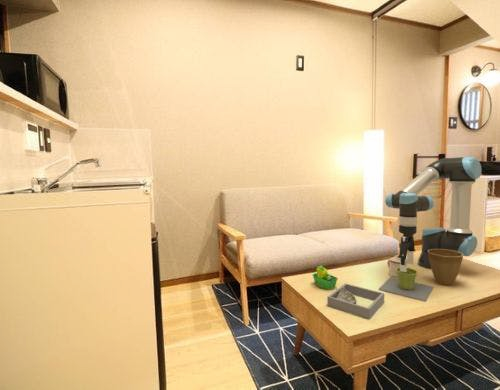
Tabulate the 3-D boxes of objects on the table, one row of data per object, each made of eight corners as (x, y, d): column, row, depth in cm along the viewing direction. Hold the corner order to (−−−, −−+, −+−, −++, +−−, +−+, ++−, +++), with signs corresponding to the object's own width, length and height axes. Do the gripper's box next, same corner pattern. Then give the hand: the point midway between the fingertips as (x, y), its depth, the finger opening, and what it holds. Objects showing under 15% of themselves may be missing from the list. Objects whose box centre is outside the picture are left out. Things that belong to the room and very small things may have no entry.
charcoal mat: (390, 277, 153) (390, 276, 153) (433, 287, 140) (433, 286, 140) (378, 289, 138) (378, 288, 138) (425, 301, 125) (425, 300, 125)
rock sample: (326, 294, 126) (340, 281, 126) (331, 300, 131) (345, 287, 131) (342, 312, 118) (358, 298, 118) (347, 317, 123) (362, 304, 124)
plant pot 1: (421, 289, 136) (422, 272, 136) (407, 293, 133) (408, 275, 132) (404, 282, 145) (405, 266, 144) (391, 285, 142) (391, 269, 141)
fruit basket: (338, 287, 142) (338, 266, 141) (326, 292, 138) (326, 269, 137) (322, 280, 152) (322, 260, 151) (309, 284, 147) (309, 263, 146)
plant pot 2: (460, 280, 147) (462, 250, 146) (462, 290, 135) (464, 258, 134) (427, 275, 156) (428, 247, 154) (426, 284, 143) (427, 253, 142)
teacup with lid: (411, 277, 153) (411, 256, 152) (398, 279, 151) (398, 258, 150) (393, 270, 165) (394, 250, 164) (381, 272, 162) (381, 252, 161)
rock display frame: (345, 291, 138) (345, 283, 137) (384, 301, 126) (384, 293, 125) (327, 305, 124) (327, 296, 123) (369, 319, 112) (369, 309, 111)
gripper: (405, 220, 148) (404, 259, 150) (391, 228, 130) (391, 272, 131) (421, 221, 143) (420, 262, 145) (410, 230, 125) (409, 276, 127)
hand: (406, 267), depth 138 cm, fingers open, 13 cm apart
